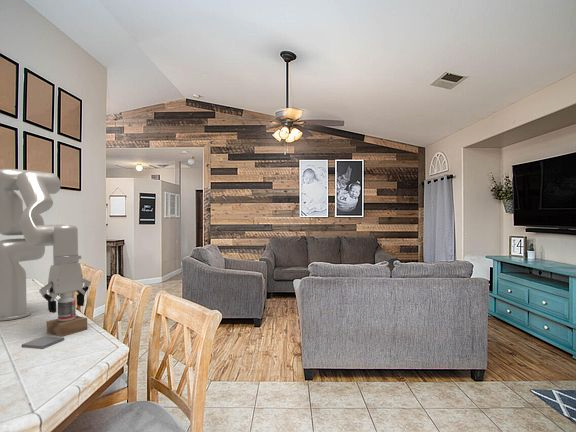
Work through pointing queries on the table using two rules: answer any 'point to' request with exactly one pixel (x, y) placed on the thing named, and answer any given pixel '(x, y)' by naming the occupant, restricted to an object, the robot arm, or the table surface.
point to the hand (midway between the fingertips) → (66, 308)
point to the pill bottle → (66, 307)
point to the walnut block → (66, 326)
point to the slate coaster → (43, 342)
